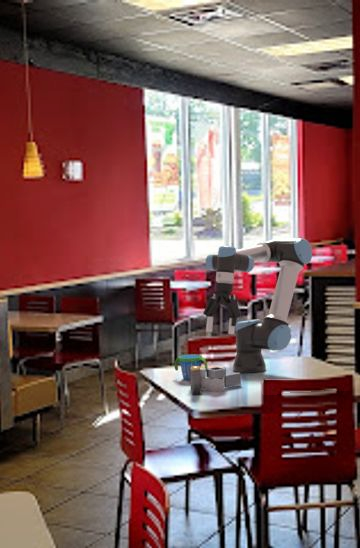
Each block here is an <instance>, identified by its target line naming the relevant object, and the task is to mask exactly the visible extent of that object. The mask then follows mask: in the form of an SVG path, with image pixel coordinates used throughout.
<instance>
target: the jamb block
mask: <svg viewBox="0 0 360 548" xmlns="http://www.w3.org/2000/svg"><path fill="white" fill-rule="evenodd" d="M200 369H205V366H201V367H200ZM190 377H191V380H190V390H191V391H192V376H191V368H190Z"/></svg>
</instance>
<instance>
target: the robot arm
mask: <svg viewBox="0 0 360 548" xmlns="http://www.w3.org/2000/svg"><path fill="white" fill-rule="evenodd" d="M312 257H313V250H312V246H311V243H310V242H309V240H307V239H306V238H301V237H300V238H299V237H296V238H294V237H293V238H292V237H291V238H287V237H285V238H280V237H279V238H274V239H271V240H266V241H263V242H259V243H257V244H256V245H255V246H250V247H246V248H245V247H244V248H239V249H237V248H236V247H234V246H228V245H221V246H219V247H218V251H217V253H209V254H207V256H206V257H205V267H206V269H207V270H209V271H213V272H216V274H215V283H214V284H215V285H214V291H215V293H210V294H209V299H208V301H207V304H206V306H205V308H204V310H203V315H205V316H206V327H205V328H206V329H205V331H206V333H212V332H213V326H214V325H213V324H214V316H213V315H214V314H215V312H216V310H217V309H218V308H219V307H220V306H225V307H226V309H227V311H228V314H229V315H230V317H229V321H228V322H229V323H228V331H227V332H228V333H227V334H228V335H235V347H236V348H235V349H236V350H235V352H236V353H235V354H236V355H235V358H234V361H233V364H232V370H233V371H234V372H235V373H246V374H247V373H258V372H260V373H261V372H264V371H266V370H267V367H266V366H267V364H266V362H265V359H264V356H263V352H262V350H270V351H283V350H284V349H286V348H287V347H288V345H290V342H291V339H292V330H291V328H290V327H289V325H290V324H289V322H288V317H289V311H290V308H291V304H292V300H293V298H294V297H293V296H294V293H295V291H296V290H295V289H296V285H297V282H298V277H299V274H300V272H301V271H303V270H304V267H305V265H307V264H309V263H310V262H311V261H312ZM256 263H262V264H265V263H277V264H279V267H280V270H279V274H278V277H277V282H276V285H275V288H274V293H273V296H272V300H271V304H270V307H269V310H268V314H267V315H266V316H264V318H263V320H262V321H261V319H249V320H242V321H237V319H238V318H241V312H240V308H239V305H238V300H237V297H238V295H237V294H232V293H233V291H234V284H233V283H234V281H235V279H234V277H235V272H241V273H250V272H251V271H252V270H254V267H255V264H256Z"/></svg>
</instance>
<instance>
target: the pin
mask: <svg viewBox="0 0 360 548" xmlns="http://www.w3.org/2000/svg"><path fill="white" fill-rule="evenodd" d="M191 376H192V390H191V394H192V396H201V395H202V390H201V380H200V367H199V366H193V367H191Z"/></svg>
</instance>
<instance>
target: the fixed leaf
mask: <svg viewBox="0 0 360 548" xmlns="http://www.w3.org/2000/svg"><path fill="white" fill-rule="evenodd" d="M200 380H201V391H209V392H224V390H225V387H224V378H218V379H213V378H208V377H207V375H206V369H200Z"/></svg>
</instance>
